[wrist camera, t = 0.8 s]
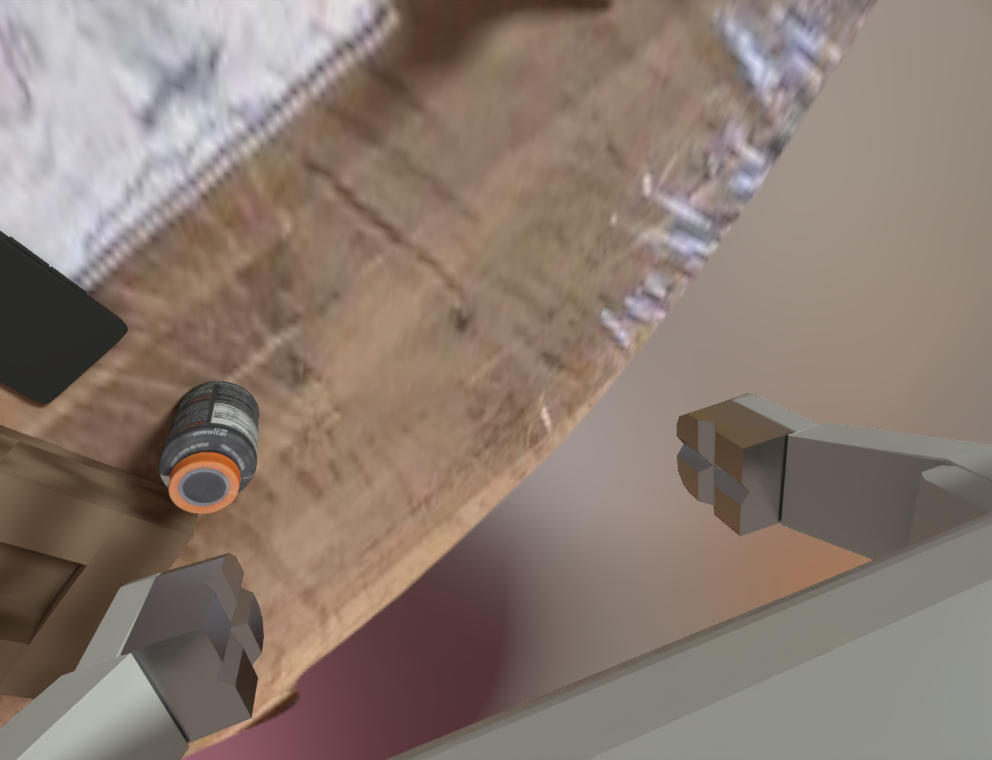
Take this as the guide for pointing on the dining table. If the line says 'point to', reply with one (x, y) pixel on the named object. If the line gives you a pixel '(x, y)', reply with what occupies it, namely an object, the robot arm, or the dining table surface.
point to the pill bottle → (210, 447)
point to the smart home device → (47, 325)
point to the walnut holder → (71, 553)
